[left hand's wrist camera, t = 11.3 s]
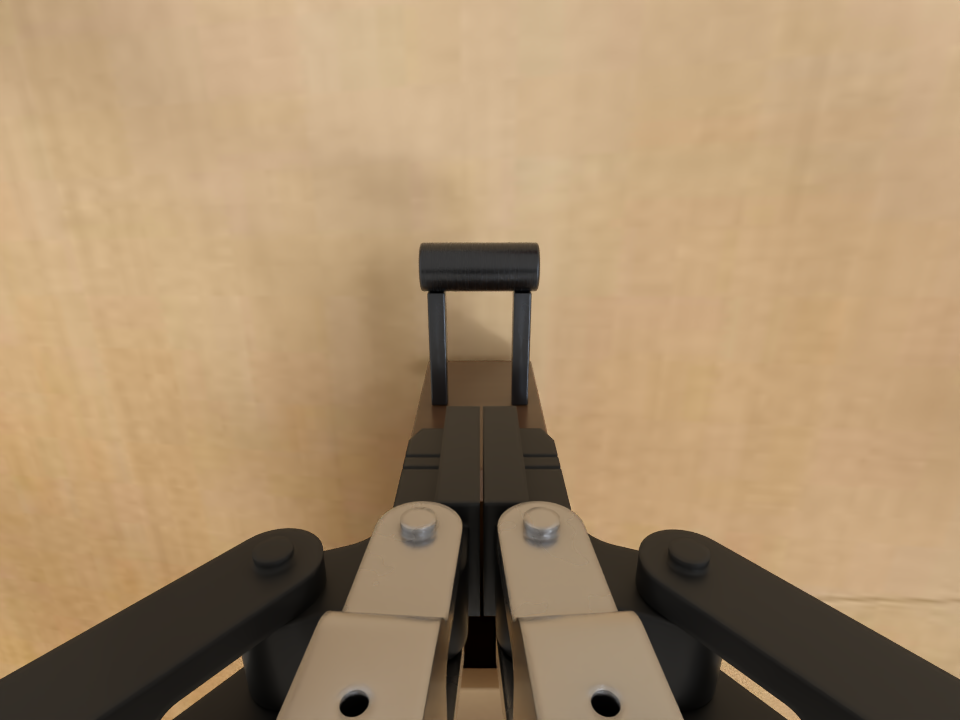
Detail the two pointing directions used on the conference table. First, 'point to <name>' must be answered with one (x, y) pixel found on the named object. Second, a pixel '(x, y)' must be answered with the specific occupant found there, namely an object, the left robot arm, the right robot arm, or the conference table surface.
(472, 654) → the drawer
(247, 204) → the conference table surface
